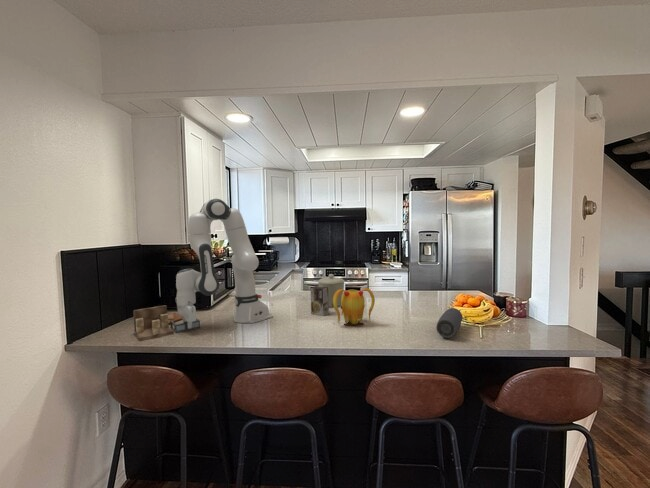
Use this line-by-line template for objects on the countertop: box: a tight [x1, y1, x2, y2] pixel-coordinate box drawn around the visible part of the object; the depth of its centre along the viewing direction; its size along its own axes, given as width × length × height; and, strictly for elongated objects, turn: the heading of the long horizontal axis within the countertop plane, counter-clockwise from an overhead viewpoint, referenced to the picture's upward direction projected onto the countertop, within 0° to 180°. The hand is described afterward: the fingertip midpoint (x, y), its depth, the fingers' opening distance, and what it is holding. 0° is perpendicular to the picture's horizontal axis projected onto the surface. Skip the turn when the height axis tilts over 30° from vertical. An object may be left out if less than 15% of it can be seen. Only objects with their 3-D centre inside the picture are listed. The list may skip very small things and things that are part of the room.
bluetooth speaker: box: [436, 307, 463, 338], centre depth 151 cm, size 23×9×10 cm, turn 149°
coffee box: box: [310, 285, 330, 316], centre depth 187 cm, size 9×6×16 cm
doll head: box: [333, 287, 376, 328], centre depth 167 cm, size 22×15×20 cm
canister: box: [317, 273, 346, 308], centre depth 206 cm, size 18×18×21 cm
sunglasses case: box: [168, 312, 183, 326], centre depth 176 cm, size 18×7×7 cm
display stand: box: [133, 304, 175, 342], centre depth 157 cm, size 15×14×12 cm
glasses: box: [169, 317, 201, 334], centre depth 166 cm, size 12×10×4 cm
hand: (187, 326), depth 162 cm, fingers open, 6 cm apart
